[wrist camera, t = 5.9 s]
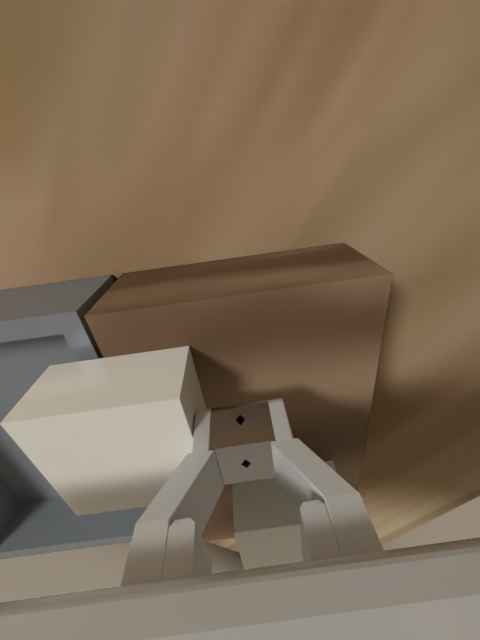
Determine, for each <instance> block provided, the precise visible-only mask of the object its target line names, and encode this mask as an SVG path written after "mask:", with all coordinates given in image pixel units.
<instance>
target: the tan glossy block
mask: <svg viewBox="0 0 480 640" xmlns="http://www.w3.org/2000/svg"><path fill="white" fill-rule="evenodd" d="M392 276H393V273H391V272H389V271H388V270H386V269H385V268H383V267H382V266H380V265H378V264H377V263H375V262H374V261H372V260H370V259H369V258H367V257H366V256H364V255H362V254H361V253H359V252H358V251H356V250H355V249H353V248H351V247H350V246H348V245H347V244H345V243H339V244H332V245H325V246H318V247H310V248H303V249H296V250H289V251H281V252H274V253H267V254H260V255H253V256H245V257H238V258H231V259H224V260H216V261H209V262H202V263H195V264H188V265H180V266H173V267H166V268H159V269H152V270H144V271H137V272H130V273H123V274H122V275H121V276H120V277H119V278H118V279H117V280H116V281H115V283H114V284H113V285H112V286H111V287H110V288H109V289H108V290H107V291H106V293H105V294H104V295H103V296H102V297H101V298H100V299H99V300H98V301H97V303H96V304H95V305H94V306H93V307H92V308H91V309H90V310H89V311H88V312H87V314H86V315H85V316H84V317H85V319H86V321H87V323H88V326H89V328H90V330H91V332H92V334H93V336H94V339H95V341H96V343H97V345H98V347H99V349H100V352H101V354H102V356H103V358H107V357H114V356H121V355H128V354H135V353H142V352H149V351H156V350H163V349H170V348H177V347H184V346H189V347H190V351H191V355H192V358H193V362H194V365H195V369H196V373H197V376H198V380H199V384H200V387H201V391H202V395H203V398H204V402H205V406H206V409H211V408H217V407H226V406H234V405H240V404H246V403H253V402H259V401H266V400H267V401H268V400H273V399H279V398H282V400H283V402H284V406H285V409H286V413H287V417H288V420H289V424H290V428H291V431H292V435H293V439H294V438H298V439H300V440H301V441H302V442H303V443H304V444H305V445H306V446H307V447H308V448H310V449H311V450H312V451H313V452H314V453H315V454H316V455H317V456H318V457H320V458H321V459H322V460H323V461H332V460H333V463H334V465H335V468H336V470H337V473H338V474H339V475H340V476H341V477H342V478H343V479H344V480H345V481H346V482H347V483H349V484H350V485H351V486H352V487H353V488H354V489H355V490H356V491H357V490H358V484H359V478H360V472H361V465H362V459H363V453H364V447H365V441H366V435H367V429H368V423H369V417H370V411H371V404H372V398H373V392H374V386H375V380H376V374H377V368H378V362H379V356H380V350H381V343H382V337H383V331H384V325H385V319H386V313H387V307H388V301H389V295H390V289H391V282H392ZM201 537H202V540H203V542H205V541H213V540H220V539H228V538H235V535H234V517H233V491H232V484H227V485H224V488H223V491H222V493H221V495H220V497H219V499H218V501H217V503H216V505H215V507H214V509H213V512H212V514H211V516H210V518H209V520H208V522H207V524H206V526H205V528H204V530H203V533H202V535H201Z"/></svg>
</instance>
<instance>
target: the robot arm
mask: <svg viewBox="0 0 480 640" xmlns="http://www.w3.org/2000/svg"><path fill="white" fill-rule="evenodd" d="M269 478H275V480H276V481H277V482H278V483H279V485H280V486H281V487H282V489H283V490H284V491H285V492H286V494H287V495H288V496H289V498H290V499H291V500H292V501H293V503H294V504H295V505H296V507H297V508H298V509H299V511H300V524H301V549H302V555H303V560H304V562H296V563H289V564H282V565H274V566H267V567H260V568H252V569H245V570H238V571H230V572H223V573H216V574H212V561H211V559H210V556H209V554H208V552H207V549H206V547H205V544H204V542H203V540H202V537H201V535H202V533H203V530H204V528H205V526H206V524H207V522H208V520H209V518H210V516H211V514H212V512H213V509H214V507H215V505H216V503H217V501H218V499H219V497H220V495H221V493H222V491H223V488H224V485H227V484H232V483H238V482H244V481H251V480H260V479H269ZM0 640H480V538H474V539H466V540H458V541H451V542H444V543H436V544H429V545H421V546H415V547H407V548H399V549H392V550H386V551H384V550H383V548H382V545H381V543H380V541H379V538H378V536H377V533H376V531H375V529H374V526H373V524H372V522H371V519H370V517H369V515H368V512H367V510H366V508H365V505H364V503H363V500H362V498H361V496H360V493H359V492H358V491H356V490H355V489H354V488H353V487H352V486H351V485H350V484H349V483H347V482H346V481H345V480H344V479H343V478H342V477H341V476H340V475H339V474H337V473H336V472H335V471H334V470H333V469H332V468H331V467H330V466H329V465H327V464H326V463H325V462H324V461H323V460H322V459H321V458H320V457H318V456H317V455H316V454H315V453H314V452H313V451H312V450H311V449H310V448H308V447H307V446H306V445H305V444H304V443H303V442H302V441H301V440H300V439H298V438H294V439H293V435H292V431H291V428H290V424H289V420H288V417H287V413H286V409H285V406H284V402H283V400H282V398H279V399H273V400H268V401H267V400H266V401H259V402H253V403H246V404H240V405H234V406H226V407H217V408H211V409H202V410H197V412H196V415H195V425H194V435H193V445H192V453H188V454H187V455H186V456H185V457H184V459H183V460H182V461H181V463H180V464H179V465H178V467H177V468H176V470H175V471H174V472H173V474H172V475H171V476H170V478H169V479H168V480H167V482H166V483H165V484H164V486H163V487H162V488H161V490H160V491H159V493H158V494H157V495H156V497H155V498H154V499H153V501H152V502H151V503H150V505H149V506H148V507H147V509H146V510H145V511H144V513H143V514H142V516H141V517H140V518H139V520H138V521H137V522H136V524H135V528H134V532H133V536H132V541H131V545H130V549H129V553H128V557H127V561H126V565H125V570H124V574H123V579H122V582H121V586H120V587H113V588H106V589H98V590H91V591H84V592H77V593H69V594H62V595H55V596H47V597H40V598H33V599H25V600H18V601H11V602H3V603H0Z"/></svg>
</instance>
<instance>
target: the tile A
mask: <svg viewBox="0 0 480 640" xmlns="http://www.w3.org/2000/svg"><path fill="white" fill-rule="evenodd" d="M202 409H206V406H205V402H204V398H203V395H202V391H201V387H200V384H199V380H198V376H197V373H196V369H195V365H194V362H193V358H192V355H191V351H190V347H189V346H184V347H177V348H170V349H163V350H156V351H149V352H142V353H135V354H128V355H121V356H114V357H107V358H100V359H93V360H86V361H79V362H72V363H65V364H58V365H50V366H49V367H48V368H47V369H46V370H45V371H44V373H43V374H42V375H41V376H40V377H39V378H38V380H37V381H36V382H35V383H34V384H33V385H32V387H31V388H30V389H29V390H28V391H27V392H26V394H25V395H24V396H23V397H22V398H21V399H20V401H19V402H18V403H17V404H16V405H15V406H14V408H13V409H12V410H11V411H10V412H9V413H8V415H7V416H6V417H5V418H4V419H3V420H2V422H1V423H0V425H1V426H2V427H3V428H4V429H5V431H6V432H7V433H8V434H9V435H10V436H11V438H12V439H13V440H14V441H15V442H16V444H17V445H18V446H19V447H20V448H21V450H22V451H23V452H24V453H25V454H26V456H27V457H28V458H29V459H30V460H31V461H32V463H33V464H34V465H35V466H36V467H37V469H38V470H39V471H40V472H41V473H42V475H43V476H44V477H45V478H46V479H47V481H48V482H49V483H50V484H51V485H52V487H53V488H54V489H55V490H56V491H57V492H58V494H59V495H60V496H61V497H62V498H63V500H64V501H65V502H66V503H67V504H68V506H69V507H70V508H71V509H72V510H73V512H74V513H75V514H76V515H77V516H80V515H87V514H95V513H102V512H110V511H117V510H125V509H132V508H140V507H147V506H149V505H150V503H151V502H152V501H153V499H154V498H155V497H156V495H157V494H158V493H159V491H160V490H161V488H162V487H163V486H164V484H165V483H166V482H167V480H168V479H169V478H170V476H171V475H172V474H173V472H174V471H175V470H176V468H177V467H178V465H179V464H180V463H181V461H182V460H183V459H184V457H185V456H186V455H187V454H188V453H192V445H193V435H194V425H195V415H196V412H197V410H202Z"/></svg>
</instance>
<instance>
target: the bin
mask: <svg viewBox="0 0 480 640" xmlns="http://www.w3.org/2000/svg"><path fill="white" fill-rule="evenodd" d="M113 284H114V280H113V277H112V275H108V276H101V277H94V278H87V279H79V280H72V281H65V282H58V283H50V284H43V285H36V286H29V287H22V288H14V289H7V290H0V423H1V422H2V420H3V419H4V418H5V417H6V416H7V415H8V413H9V412H10V411H11V410H12V409H13V408H14V406H15V405H16V404H17V403H18V402H19V401H20V399H21V398H22V397H23V396H24V395H25V394H26V392H27V391H28V390H29V389H30V388H31V387H32V385H33V384H34V383H35V382H36V381H37V380H38V378H39V377H40V376H41V375H42V374H43V373H44V371H45V370H46V369H47V368H48V367H49V366H50V365H58V364H65V363H72V362H79V361H86V360H93V359H100V358H103V356H102V354H101V352H100V349H99V347H98V345H97V343H96V341H95V339H94V336H93V334H92V332H91V330H90V328H89V326H88V323H87V321H86V319H85V317H84V316H85V315H86V314H87V312H88V311H89V310H90V309H91V308H92V307H93V306H94V305H95V304H96V303H97V301H98V300H99V299H100V298H101V297H102V296H103V295H104V294H105V293H106V291H107V290H108V289H109V288H110V287H111V286H112V285H113ZM147 507H148V506H147ZM147 507H140V508H132V509H125V510H117V511H110V512H102V513H95V514H87V515H80V516H77V515H76V514H75V513H74V512H73V510H72V509H71V508H70V507H69V506H68V504H67V503H66V502H65V501H64V500H63V498H62V497H61V496H60V495H59V494H58V492H57V491H56V490H55V489H54V488H53V487H52V485H51V484H50V483H49V482H48V481H47V479H46V478H45V477H44V476H43V475H42V473H41V472H40V471H39V470H38V469H37V467H36V466H35V465H34V464H33V463H32V461H31V460H30V459H29V458H28V457H27V456H26V454H25V453H24V452H23V451H22V450H21V448H20V447H19V446H18V445H17V444H16V442H15V441H14V440H13V439H12V438H11V436H10V435H9V434H8V433H7V432H6V431H5V429H4V428H3V427H2V426H1V425H0V559H6V558H13V557H21V556H28V555H36V554H43V553H51V552H58V551H66V550H73V549H81V548H88V547H96V546H104V545H111V544H118V543H126V542H131V541H132V536H133V532H134V528H135V524H136V522H137V521H138V520H139V518H140V517H141V516H142V514H143V513H144V511H145V510H146V509H147Z"/></svg>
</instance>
